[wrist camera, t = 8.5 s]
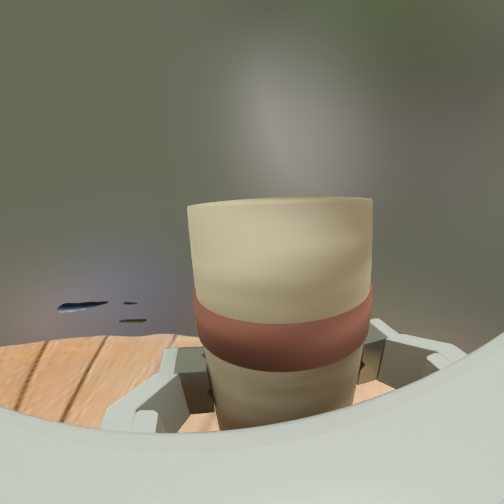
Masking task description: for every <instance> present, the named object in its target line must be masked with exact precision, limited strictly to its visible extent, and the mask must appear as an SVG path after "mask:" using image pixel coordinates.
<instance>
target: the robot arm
mask: <svg viewBox="0 0 504 504" xmlns="http://www.w3.org/2000/svg"><path fill="white" fill-rule="evenodd" d="M373 380H378V381H380V382H382V383H384V384H386V385H388V386H390V387H393V388H395V389H396V390H393V391H391V392H388V393H386V394H383V395H380V396H377V397H375V398H372V399H369V400H366V401H363V402H360V403H357V404H354V405H350V406H347V407H344V408H340V409H337V410H333V411H330V412H326V413H322V414H318V415H314V416H310V417H305V418H301V419H296V420H292V421H287V422H281V423H276V424H270V425H264V426H257V427H250V428H242V429H234V430H224V431H212V432H194V433H177V432H178V430H179V429H180V428H181V426H182V425H183V424H184V423H185V421H186V420H187V419H188V417H189V416H190V414H200V413H211V412H215V411H214V399H213V394H212V389H211V385H210V378H209V373H208V367H207V362H206V357H205V351H204V346H202V347H183V348H165V349H164V350H163V354H162V358H161V363H160V367H159V371H158V374H154V375H152V376H151V377H149V378H148V379H147V380H145V381H144V382H143V383H141V384H140V385H138V386H137V387H136V388H134V389H133V390H132V391H130V392H129V393H127V394H126V395H124V396H123V397H122V398H120V399H119V400H117V401H116V402H115V403H113V404H112V405H110V406H109V407H108V408H107V410H106V413H105V416H104V418H103V421H102V424H101V427H100V429H97V428H89V427H83V426H76V425H71V424H65V423H60V422H56V421H51V420H47V419H42V418H38V417H34V416H31V415H27V414H24V413H20V412H17V411H14V410H10V409H7V408H4V407H1V406H0V504H504V332H503V333H502V334H500V335H499V336H497V337H496V338H494V339H493V340H491V341H490V342H488V343H487V344H485V345H483V346H482V347H480V348H479V349H477V350H475V351H474V352H472V353H470V354H468V355H467V354H466V353H464V352H463V351H461V350H460V349H458V348H457V347H456V346H454V345H453V344H449V343H443V342H439V341H434V340H428V339H424V338H419V337H415V336H410V335H406V334H400V335H399V334H398V333H397V332H395V331H394V330H393V329H392V328H390V327H389V326H388V325H386V324H385V323H384V322H382V321H381V320H380V319H372V320H370V324H369V332H368V335H367V337H366V339H365V341H364V343H363V350H362V356H361V362H360V368H359V373H358V379H357V385H359V384H363V383H367V382H370V381H373Z"/></svg>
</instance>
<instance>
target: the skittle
mask: <svg viewBox="0 0 504 504" xmlns="http://www.w3.org/2000/svg"><path fill="white" fill-rule="evenodd" d="M187 212H188V224H189V235H190V244H191V255H192V264H193V272H194V281H195V288H194V290H193V301H194V309H195V316H196V322H197V329H198V335H199V338H200V341H201V342H202V344H203V345H204V351H205V357H206V362H207V367H208V373H209V378H210V385H211V389H212V394H213V399H214V405H215V410H216V415H217V419H218V424H219V429H220V431H224V430H234V429H242V428H250V427H257V426H264V425H270V424H276V423H281V422H287V421H292V420H296V419H301V418H305V417H310V416H314V415H318V414H322V413H326V412H330V411H333V410H337V409H340V408H344V407H347V406H350V405H352V403H353V398H354V394H355V389H356V384H357V379H358V373H359V368H360V362H361V356H362V350H363V343H364V341H365V339H366V337H367V335H368V332H369V324H370V316H371V307H372V298H373V286H372V284H371V282H370V277H371V261H372V228H373V225H372V224H373V220H372V219H373V207H372V199H368V198H357V197H280V198H260V199H244V200H231V201H220V202H211V203H203V204H196V205H191V206H188V207H187Z"/></svg>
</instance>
